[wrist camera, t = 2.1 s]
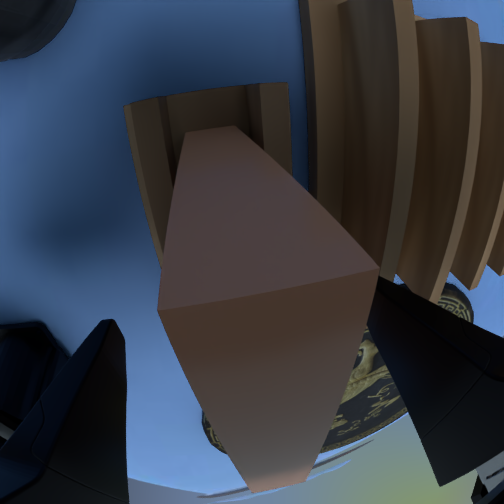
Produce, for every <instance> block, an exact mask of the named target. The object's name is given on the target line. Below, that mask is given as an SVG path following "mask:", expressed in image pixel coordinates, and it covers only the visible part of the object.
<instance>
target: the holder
mask: <svg viewBox="0 0 504 504" xmlns="http://www.w3.org/2000/svg"><path fill="white" fill-rule="evenodd" d="M123 108H124V114H125V120H126V126H127V132H128V137H129V142H130V148H131V153H132V157H133V162H134V167H135V172H136V176H137V181H138V185H139V189H140V193H141V198H142V202H143V206H144V210H145V214H146V217H147V221H148V225H149V229H150V232H151V236H152V240H153V243H154V247H155V250H156V253H157V257H158V260H159V264H160V267H161V270H162V262H163V254H164V246H165V239H166V233H167V226H168V220H169V213H170V207H171V201H172V196H173V190H174V185H175V180H176V174H177V169H178V164H179V160H180V155H181V150H182V146H183V141H184V137H185V133H186V132H192V131H199V130H205V129H212V128H219V127H227V126H236V127H237V128H238V129H240V130H241V131H242V132H243V133H244V134H245V135H247V136H248V137H249V138H250V139H251V140H252V141H253V142H255V143H256V144H257V145H258V146H259V147H260V148H261V149H263V150H264V151H265V152H266V153H267V154H268V155H269V156H270V157H271V158H273V159H274V160H275V161H276V162H277V163H278V164H279V165H280V166H281V167H282V168H283V169H284V170H286V171H287V172H288V173H289V174H290V175H291V176H292V177H293V174H292V146H291V124H290V105H289V89H288V83H287V82H277V83H258V84H250V85H240V86H230V87H221V88H212V89H205V90H198V91H191V92H185V93H179V94H174V95H168V96H161V97H155V98H150V99H146V100H141V101H137V102H133V103H130V104H128V105H124V106H123Z"/></svg>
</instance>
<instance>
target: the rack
mask: <svg viewBox="0 0 504 504" xmlns="http://www.w3.org/2000/svg"><path fill="white" fill-rule="evenodd" d="M299 9H300V18H301V28H302V39H303V51H304V64H305V80H306V98H307V121H308V159H309V193H310V194H311V195H312V196H313V197H314V198H315V199H316V200H317V201H318V202H319V203H320V204H321V205H322V206H323V207H324V208H325V209H326V210H327V211H328V212H329V213H330V214H331V215H332V216H333V218H334V219H335V220H336V221H337V222H338V223H339V224H340V225H341V226H342V227H343V228H344V229H345V230H346V231H347V232H348V233H349V234H350V235H351V236H352V237H353V239H354V240H355V241H356V242H357V243H358V244H359V245H360V246H361V247H362V248H363V249H364V250H365V252H366V253H367V254H368V255H369V256H370V257H371V258H372V259H373V260H374V262H375V263H376V264H377V265H378V266H379V267H380V271H379V276H381V277H383V278H385V279H387V280H389V281H391V282H393V281H394V277H395V274H397V275H398V276H399V277H400V279H401V280H402V281H403V282H404V283H405V284H406V285H407V286H408V288H409V289H410V290H411V291H412V292H413V293H415V294H417V295H419V296H421V297H423V298H425V299H427V300H429V301H431V302H433V303H435V304H437V303H438V301H439V298H440V296H441V293H442V290H443V288H444V285H445V282H446V280H447V277H448V274H449V271H450V272H451V273H452V274H453V275H454V276H455V277H456V278H457V279H458V280H459V281H460V282H461V283H462V284H463V285H464V286H465V287H466V288H467V289H468V290H469V291H470V290H472V289H474V288H476V287H477V286H478V284H479V281H480V279H481V276H482V274H483V271H484V269H485V266H486V264H487V265H488V266H489V267H490V268H491V269H492V270H493V271H495V272H496V273H497V274H498V275H499V276H502V275H504V44H497V43H488V42H480V37H479V28H478V24H477V23H475V22H474V21H472V20H470V19H468V18H467V17H453V18H437V19H425V18H422V17H419V16H416V15H414V10H413V3H412V0H299ZM365 329H368V327H367V325H366V327H365Z"/></svg>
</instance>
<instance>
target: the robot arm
mask: <svg viewBox="0 0 504 504" xmlns="http://www.w3.org/2000/svg"><path fill="white" fill-rule="evenodd" d="M366 325H367V327H368V330H369V332H370V335H371V337H372V339H373V341H374V343H375V345H376V347H377V349H378V351H379V353H380V355H381V357H382V359H383V361H384V363H385V365H386V367H387V369H388V371H389V373H390V375H391V377H392V379H393V381H394V383H395V385H396V387H397V389H398V391H399V393H400V396H401V398H402V400H403V402H404V404H405V406H406V408H407V411H408V413H409V415H410V417H411V419H412V421H413V424H414V426H415V428H416V430H417V433H418V435H419V438H420V439H421V442H422V445H423V447H424V450H425V452H426V454H427V457H428V459H429V462H430V464H431V467H432V469H433V472H434V474H435V477H436V479H437V482H438V484H439V486H440V487H441V486H443V485H445V484H447V483H449V482H451V481H453V480H455V479H457V478H459V477H461V476H463V475H465V474H467V473H469V472H470V471H472V470H474V469H476V470H477V473H478V476H477V479H476V483H475V486H474V490H473V493H472V496H471V499H472V502H473V504H504V338H502V337H500V336H498V335H496V334H493V333H491V332H489V331H487V330H485V329H483V328H480V327H479V326H477V325H475V324H473V323H471V322H469V321H467V320H465V319H463V318H461V317H459V316H458V315H456V314H454V313H452V312H450V311H448V310H446V309H444V308H442V307H440V306H439V305H437V304H435V303H433V302H431V301H429V300H427V299H425V298H423V297H421V296H419V295H417V294H415V293H413V292H411V291H409V290H407V289H405V288H403V287H401V286H399V285H397V284H395V283H393V282H391V281H389V280H387V279H385V278H383V277H381V276H379V275H378V280H377V284H376V289H375V293H374V297H373V301H372V305H371V309H370V313H369V316H368V320H367V324H366ZM126 401H127V375H126V352H125V339H124V336H123V334H122V332H121V331H120V329H119V327H118V325H117V323H116V321H115V320H114V319H105V320H101V321H100V322H99V323H98V325H97V326H96V327H95V328H94V329H93V331H92V332H91V333H90V334H89V335H88V337H87V338H86V339H85V340H84V342H83V343H82V344H81V345H80V346H79V348H78V349H77V350H76V351H75V353H74V354H73V355H72V356H71V358H70V359H68V358H67V357H66V355H65V354H64V353H63V351H62V350H61V349H60V347H59V346H58V344H57V343H56V342H55V340H54V339H53V337H52V336H51V334H50V333H49V331H48V330H47V329H46V327H45V326H44V325H43V324H41V323H39V322H33V323H22V324H10V325H0V504H129V493H128V479H127V459H126Z"/></svg>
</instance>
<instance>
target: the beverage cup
mask: <svg viewBox="0 0 504 504" xmlns="http://www.w3.org/2000/svg"><path fill="white" fill-rule="evenodd" d="M75 2H76V0H0V62H2V61H6V60H8V59H17V58H24V57H27V56H29V55H31V54H33V53H35V52H37V51H39V50H40V49H41V48H43V47H44V46H45V45H46V44H48V43H49V42H50V41H51V40H52V39H53V38H54V37H55V36H56V35H57V33H58V32H59V31H60V30H61V29H62V28H63V26H64V25H65V23H66V21H67V20H68V18H69V16H70V15H71V13H72V10H73V8H74V5H75Z"/></svg>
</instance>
